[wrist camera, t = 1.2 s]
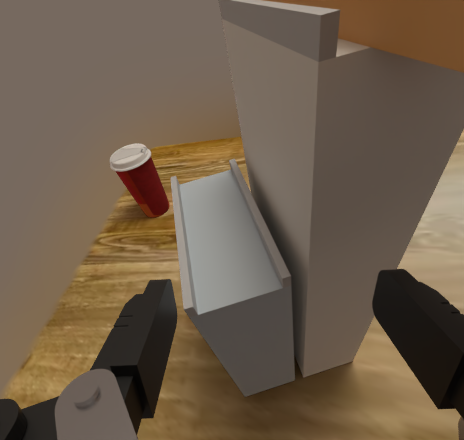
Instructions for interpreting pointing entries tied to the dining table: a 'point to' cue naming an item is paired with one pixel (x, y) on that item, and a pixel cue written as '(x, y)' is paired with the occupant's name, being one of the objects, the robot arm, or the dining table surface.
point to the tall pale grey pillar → (336, 159)
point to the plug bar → (402, 27)
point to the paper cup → (140, 178)
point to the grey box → (234, 280)
